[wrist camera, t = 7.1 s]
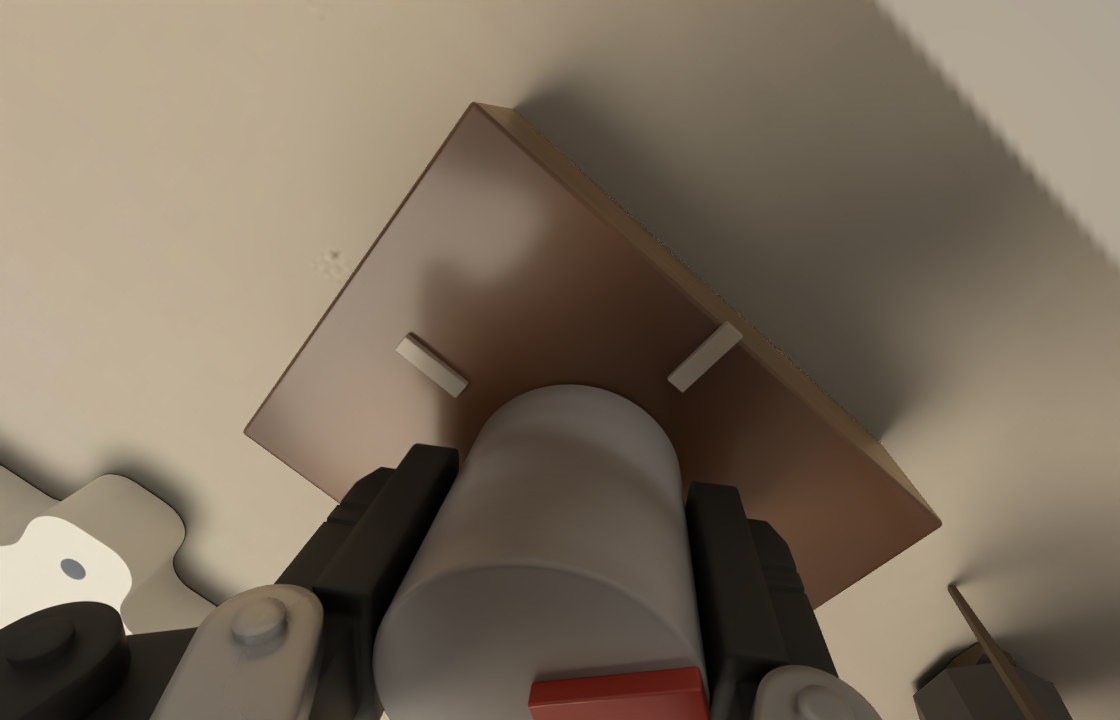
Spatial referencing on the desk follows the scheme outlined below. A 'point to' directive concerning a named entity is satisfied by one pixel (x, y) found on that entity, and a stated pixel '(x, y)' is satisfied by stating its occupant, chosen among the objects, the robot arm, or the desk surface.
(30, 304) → the desk surface
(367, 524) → the robot arm
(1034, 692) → the wizard figurine
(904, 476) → the dial panel
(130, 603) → the mounting plate
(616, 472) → the knob
